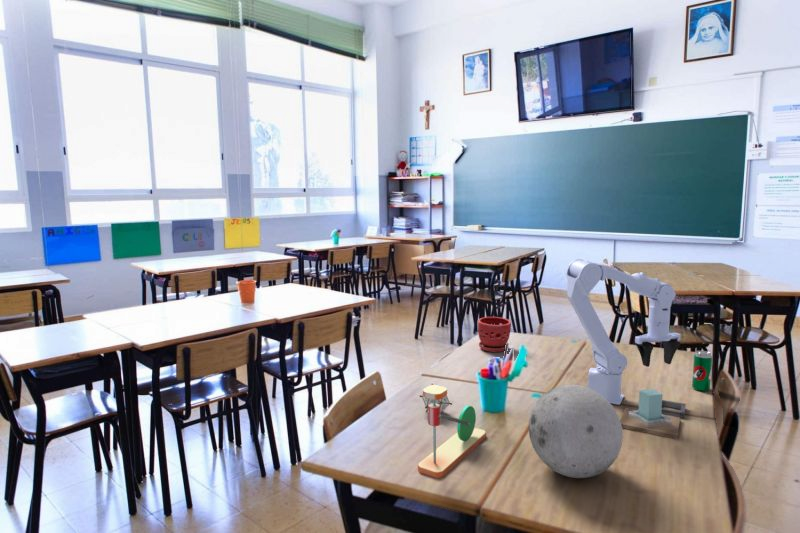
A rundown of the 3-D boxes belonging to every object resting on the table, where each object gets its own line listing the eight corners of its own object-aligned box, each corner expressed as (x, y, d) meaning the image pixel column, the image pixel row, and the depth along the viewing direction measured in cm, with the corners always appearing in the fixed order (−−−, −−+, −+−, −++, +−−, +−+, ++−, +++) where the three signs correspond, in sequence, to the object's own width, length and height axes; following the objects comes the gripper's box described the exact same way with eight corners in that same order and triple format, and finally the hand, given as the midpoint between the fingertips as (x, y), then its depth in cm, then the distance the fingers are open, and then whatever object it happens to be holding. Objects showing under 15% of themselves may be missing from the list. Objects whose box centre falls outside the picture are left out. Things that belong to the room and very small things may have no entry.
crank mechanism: (440, 479, 117) (439, 397, 114) (415, 471, 121) (414, 391, 118) (488, 435, 138) (488, 365, 135) (465, 429, 141) (465, 361, 139)
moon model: (639, 477, 116) (644, 391, 113) (580, 508, 106) (584, 414, 103) (567, 442, 133) (569, 366, 130) (509, 466, 122) (510, 384, 119)
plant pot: (475, 352, 207) (475, 323, 206) (479, 343, 220) (479, 315, 218) (509, 355, 204) (509, 325, 202) (511, 345, 216) (511, 317, 215)
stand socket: (654, 413, 149) (654, 408, 149) (656, 403, 156) (657, 398, 155) (683, 418, 145) (684, 413, 145) (685, 408, 152) (685, 403, 152)
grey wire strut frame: (442, 424, 153) (463, 400, 150) (424, 423, 147) (446, 398, 144) (426, 401, 159) (446, 377, 156) (408, 400, 153) (428, 375, 150)
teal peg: (648, 424, 140) (649, 395, 139) (638, 418, 144) (639, 390, 143) (660, 422, 141) (662, 394, 140) (650, 416, 145) (652, 388, 144)
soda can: (712, 392, 163) (715, 355, 162) (694, 391, 164) (697, 354, 163) (706, 386, 168) (709, 350, 167) (689, 385, 169) (691, 349, 168)
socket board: (618, 426, 141) (618, 418, 141) (625, 410, 151) (625, 402, 151) (676, 438, 134) (677, 429, 134) (680, 421, 144) (680, 412, 144)
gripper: (647, 326, 153) (645, 371, 155) (689, 322, 156) (686, 366, 158) (631, 320, 160) (629, 363, 162) (672, 317, 163) (669, 359, 165)
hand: (656, 364), depth 161 cm, fingers open, 7 cm apart
